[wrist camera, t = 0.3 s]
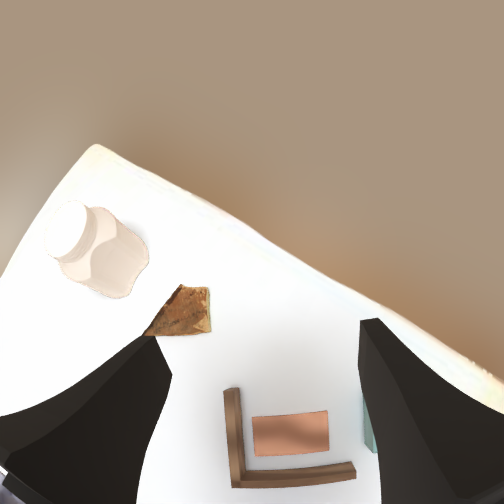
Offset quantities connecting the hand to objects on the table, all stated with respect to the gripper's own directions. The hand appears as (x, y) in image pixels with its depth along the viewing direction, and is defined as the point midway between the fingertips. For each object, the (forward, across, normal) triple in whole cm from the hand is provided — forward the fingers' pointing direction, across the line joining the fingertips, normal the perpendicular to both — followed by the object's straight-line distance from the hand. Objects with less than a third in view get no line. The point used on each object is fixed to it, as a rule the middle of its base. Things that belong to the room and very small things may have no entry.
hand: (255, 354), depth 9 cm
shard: (+25, +16, +16) cm, 34 cm away
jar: (+31, +28, +8) cm, 43 cm away
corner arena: (+14, +1, +28) cm, 31 cm away
